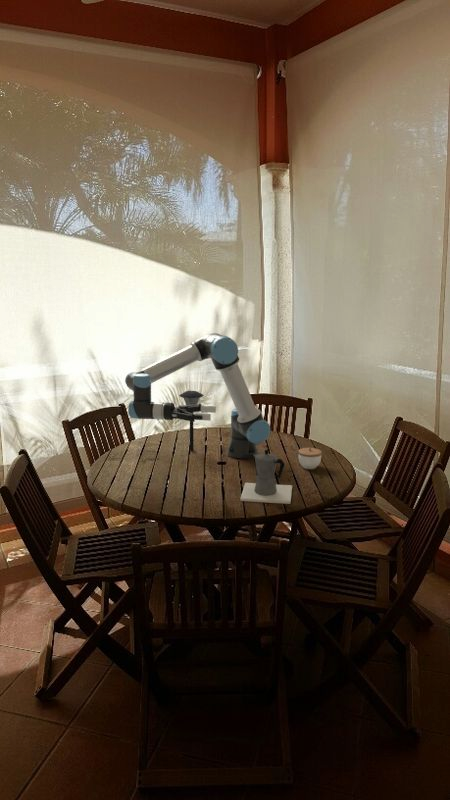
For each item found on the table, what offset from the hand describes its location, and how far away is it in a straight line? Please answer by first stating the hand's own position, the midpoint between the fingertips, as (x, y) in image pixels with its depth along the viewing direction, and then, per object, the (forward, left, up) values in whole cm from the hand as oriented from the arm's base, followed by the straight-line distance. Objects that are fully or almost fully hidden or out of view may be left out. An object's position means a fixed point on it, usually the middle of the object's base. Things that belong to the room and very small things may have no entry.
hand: (213, 413), depth 266 cm
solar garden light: (-40, -17, -30) cm, 53 cm away
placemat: (+13, +25, -30) cm, 41 cm away
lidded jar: (-24, +42, -30) cm, 57 cm away
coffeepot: (+14, +25, -29) cm, 41 cm away
